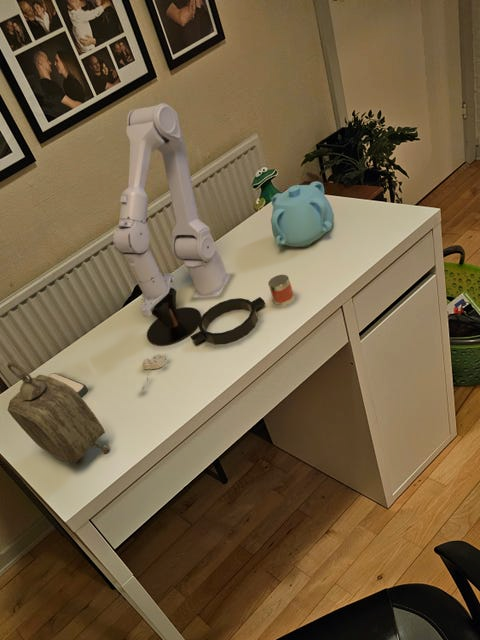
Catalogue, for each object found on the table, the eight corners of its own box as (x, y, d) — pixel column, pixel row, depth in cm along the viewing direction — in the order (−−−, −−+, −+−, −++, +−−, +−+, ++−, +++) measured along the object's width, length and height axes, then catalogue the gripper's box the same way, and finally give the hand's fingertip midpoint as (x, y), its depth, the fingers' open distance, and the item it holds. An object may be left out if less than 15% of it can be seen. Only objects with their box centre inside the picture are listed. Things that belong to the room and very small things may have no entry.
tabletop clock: (119, 448, 111) (51, 355, 94) (88, 481, 107) (12, 390, 90) (78, 430, 120) (10, 342, 103) (48, 460, 116) (-28, 374, 99)
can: (277, 295, 131) (271, 275, 127) (297, 293, 129) (291, 273, 125) (272, 307, 128) (265, 287, 124) (291, 306, 126) (285, 285, 122)
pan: (186, 335, 132) (181, 324, 130) (252, 297, 134) (248, 286, 132) (206, 360, 122) (201, 349, 120) (278, 319, 124) (274, 307, 122)
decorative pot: (280, 228, 155) (266, 181, 146) (336, 214, 149) (325, 165, 140) (274, 258, 144) (258, 210, 135) (334, 244, 139) (322, 193, 130)
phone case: (30, 398, 136) (63, 415, 126) (26, 394, 135) (59, 410, 125) (56, 375, 139) (90, 389, 129) (53, 371, 138) (87, 384, 128)
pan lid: (141, 331, 140) (131, 313, 137) (190, 303, 142) (182, 285, 138) (158, 356, 130) (148, 337, 126) (211, 326, 131) (202, 307, 128)
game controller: (168, 355, 129) (164, 347, 127) (166, 387, 120) (161, 378, 119) (146, 362, 130) (141, 353, 128) (142, 394, 121) (137, 385, 120)
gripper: (147, 259, 132) (170, 305, 141) (120, 295, 123) (146, 342, 132) (171, 256, 128) (193, 303, 137) (146, 292, 120) (171, 340, 129)
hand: (172, 322), depth 135 cm, fingers closed on pan lid, 2 cm apart
